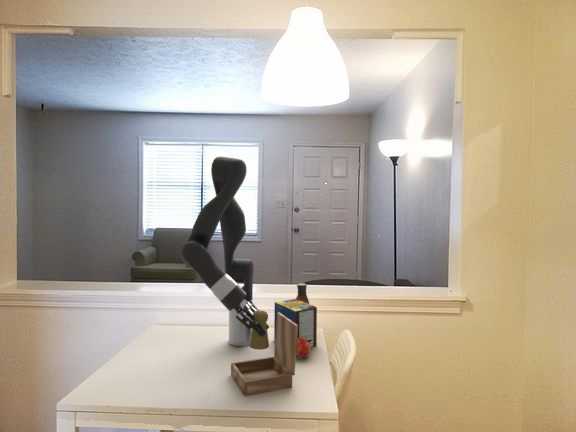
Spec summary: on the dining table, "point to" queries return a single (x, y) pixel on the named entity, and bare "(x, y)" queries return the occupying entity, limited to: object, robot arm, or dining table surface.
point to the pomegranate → (303, 347)
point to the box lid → (286, 342)
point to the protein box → (299, 318)
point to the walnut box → (260, 375)
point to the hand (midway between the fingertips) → (265, 331)
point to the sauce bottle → (302, 293)
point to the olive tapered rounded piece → (256, 339)
